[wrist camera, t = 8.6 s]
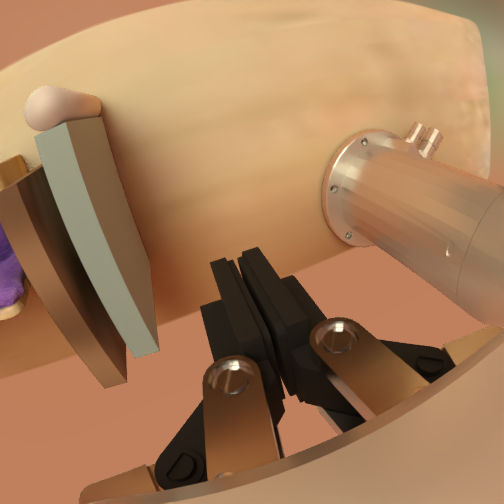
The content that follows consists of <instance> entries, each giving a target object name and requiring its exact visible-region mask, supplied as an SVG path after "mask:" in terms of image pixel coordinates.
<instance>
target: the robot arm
mask: <svg viewBox="0 0 504 504" xmlns="http://www.w3.org/2000/svg"><path fill="white" fill-rule="evenodd" d="M425 130H426V129H425V127H424V126H423V125H422V124H420V123H418V122H415V123H414V124H413V126H412V128H411V130H410V131H409V134H408V136H407V138H403V139H401V138H400V137H399V136H397V135H395V134H393V133H391V132H388V131H384V130H377V129H371V130H365V131H362V132H360V133H357V134H355V135H353V136H352V137H351V138H349V139H348V140H346V141H345V142H344V143H343V144H342V145H341V147H340V148H339V149H338V150H337V151H336V153H335V154H334V156H333V157H332V159H331V161H330V163H329V165H328V168H327V170H326V173H325V177H324V180H323V185H322V195H321V197H322V209H323V213H324V217H325V219H326V222H327V224H328V226H329V228H330V229H331V230H332V231H333V233H334V234H335V235H336V236H338V237H339V238H340V239H341V240H343V241H344V242H346V243H348V244H349V245H352V246H356V247H369V246H374V245H377V246H378V247H379V248H381V249H382V250H384V251H385V252H387V253H388V254H389V255H391V256H392V257H394V258H395V259H397V260H398V261H399V262H401V263H402V264H403V265H405V266H406V267H408V268H409V269H411V270H412V271H413V272H414V273H416V274H417V275H418V276H420V277H421V278H422V279H424V280H425V281H426V282H428V283H429V284H431V285H432V286H433V287H434V288H436V289H437V290H438V291H440V292H441V293H442V294H444V295H445V296H446V297H448V298H449V299H450V300H451V301H453V302H454V303H455V304H456V305H458V306H459V307H460V308H462V309H463V310H464V311H466V312H467V313H468V314H469V315H470V316H472V317H474V318H475V319H476V320H478V321H480V322H482V323H484V324H487V325H490V326H489V327H486V328H484V329H481V330H479V331H476V332H474V333H472V334H469V335H467V336H464V337H462V338H459V339H457V340H454V341H451V342H449V343H446V344H443V347H442V349H439V348H435V347H430V346H422V345H414V344H407V343H399V342H392V341H385V340H378V339H377V338H376V337H374V336H373V335H372V334H371V333H369V332H368V331H367V330H366V329H365V328H364V327H362V326H361V325H360V324H359V323H357V322H356V321H353V320H351V319H348V318H344V317H335V318H329V319H327V318H326V317H325V315H324V314H323V313H322V311H321V310H320V309H319V307H318V306H317V305H316V304H315V302H314V301H313V300H312V299H311V297H310V296H309V295H308V293H307V292H306V291H305V289H304V288H303V287H302V285H301V284H300V283H299V282H298V280H297V279H296V278H295V277H294V276H293V275H291V276H288V277H285V278H282V279H280V278H279V276H278V275H277V273H276V272H275V271H274V269H273V268H272V266H271V265H270V263H269V262H268V260H267V259H266V258H265V256H264V255H263V253H262V252H261V250H260V249H259V248H258V247H256V248H253V249H249V250H246V251H243V252H242V257H239V258H237V259H238V263H239V267H240V271H241V275H242V277H241V275H240V273H239V271H238V269H237V267H236V265H235V263H234V261H233V260H230V261H227V260H226V258H222V259H219V260H216V261H213V262H210V265H211V268H212V271H213V274H214V277H215V280H216V283H217V286H218V289H219V292H220V295H221V298H222V299H221V300H218V301H215V302H212V303H209V304H206V305H203V306H200V309H201V313H202V317H203V321H204V325H205V329H206V333H207V336H208V340H209V344H210V348H211V351H212V355H213V359H214V363H213V364H212V365H211V366H210V367H209V368H208V369H207V370H206V372H205V374H204V376H203V382H202V385H203V386H202V387H203V400H202V401H201V403H200V404H199V405H198V407H197V408H196V409H195V411H194V412H193V413H192V415H191V416H190V417H189V419H188V420H187V421H186V423H185V424H184V425H183V426H182V428H181V429H180V431H179V432H178V433H177V434H176V436H175V437H174V438H173V439H172V441H171V442H170V443H169V445H168V446H167V447H166V449H165V450H164V451H163V452H162V453H161V455H160V456H159V458H158V460H157V461H156V463H155V464H152V465H150V466H147V465H146V464H144V465H141V466H139V467H136V468H134V469H131V470H129V471H126V472H123V473H121V474H118V475H115V476H113V477H110V478H107V479H104V480H101V481H99V482H96V483H92V484H90V485H88V486H86V487H85V488H84V489H83V490H82V492H81V493H80V497H79V504H504V329H503V328H501V327H502V326H504V187H503V186H500V185H498V184H496V183H493V182H491V181H489V180H486V179H484V178H481V177H478V176H476V175H473V174H471V173H468V172H465V171H463V170H460V169H457V168H454V167H452V166H449V165H446V164H443V163H440V162H437V161H434V160H432V159H431V157H432V155H433V154H434V152H435V151H436V150H437V148H438V146H439V145H440V143H441V141H442V139H443V136H442V134H441V133H440V132H439V131H438V130H436V129H434V128H428V130H427V132H426V133H425V135H424V137H423V139H422V140H421V141H422V142H421V144H420V146H419V148H417V146H416V145H417V143H418V141H419V140H420V139H421V137H422V135H423V134H424V132H425ZM242 278H243V279H242ZM280 377H281V378H280ZM281 379H282V381H283V383H284V385H285V387H286V389H287V391H288V393H289V395H290V396H293V395H295V394H296V395H297V397H298V399H299V401H300V402H303V401H305V403H307V404H312V405H316V406H317V409H318V410H319V412H320V414H321V415H322V416H323V417H324V418H325V420H326V421H327V422H328V423H329V425H330V426H331V427H332V428H333V429H334V430H335V432H336V433H337V434H338V436H336V437H334V438H332V439H330V440H327V441H325V442H323V443H321V444H318V445H316V446H314V447H311V448H309V449H306V450H304V451H301V452H299V453H296V454H294V455H291V456H288V457H285V454H284V451H283V446H282V442H281V437H280V433H279V429H278V423H279V421H280V420H281V418H282V416H283V414H284V412H285V409H284V405H283V401H282V400H283V399H285V394H284V390H283V386H282V382H281Z"/></svg>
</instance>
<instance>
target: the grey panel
mask: <svg viewBox="0 0 504 504" xmlns="http://www.w3.org/2000/svg"><path fill="white" fill-rule="evenodd" d="M101 108H102V105H101V102H100V100H99V99H98V98H97V97H96V96H93V95H89V94H85V93H81V92H77V91H73V90H68V89H64V88H60V87H55V86H50V85H46V86H42V87H39V88H38V89H36V90H35V91H34V92H32V94H31V95H30V96H29V98H28V99H27V101H26V104H25V109H24V116H25V120H26V122H27V124H28V125H29V126H30V127H31V128H32V129H34V130H36V131H45V132H43V133H41V134H39V135H37V136H35V137H34V138H35V141H36V145H37V148H38V152H39V155H40V158H41V161H42V164H43V167H44V170H45V173H46V176H47V179H48V182H49V185H50V188H51V190H52V193H53V196H54V198H55V201H56V204H57V206H58V209H59V211H60V214H61V216H62V219H63V221H64V224H65V226H66V229H67V231H68V233H69V236H70V238H71V240H72V242H73V245H74V247H75V249H76V251H77V253H78V256H79V258H80V260H81V262H82V264H83V266H84V268H85V270H86V272H87V274H88V276H89V278H90V280H91V282H92V284H93V286H94V288H95V290H96V292H97V294H98V296H99V298H100V300H101V301H102V303H103V305H104V307H105V309H106V311H107V312H108V314H109V316H110V318H111V319H112V321H113V323H114V325H115V326H116V328H117V330H118V332H119V333H120V335H121V337H122V338H123V340H124V342H125V343H126V345H127V346H128V348H129V350H130V351H131V353H132V354H133V356H134V358H138V357H141V356H145V355H148V354H151V353H155V352H158V351H160V349H159V342H158V334H157V326H156V318H155V309H154V299H153V289H152V278H151V265H150V261H149V258H148V256H147V253H146V251H145V248H144V245H143V243H142V240H141V237H140V235H139V232H138V229H137V227H136V224H135V221H134V218H133V216H132V213H131V210H130V207H129V204H128V201H127V198H126V195H125V192H124V189H123V186H122V183H121V180H120V177H119V174H118V171H117V168H116V164H115V161H114V158H113V154H112V151H111V148H110V144H109V141H108V137H107V134H106V130H105V126H104V123H103V119H102V116H101V117H97V116H98V115H99V114H100V112H101ZM46 130H47V131H46Z"/></svg>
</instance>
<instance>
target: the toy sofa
mask: <svg viewBox="0 0 504 504" xmlns="http://www.w3.org/2000/svg"><path fill="white" fill-rule="evenodd" d="M27 173H28V171H27V168H26V166H25V163H24V161H23V158H22V156H21V155H17V156H14V157H12V158H10V159H8V160H6V161H4V162H2V163H0V191H1V190H3V189H4V188H5V187H7V186H8V185H10V184H11V183H13V182H14V181H16V180H17V179H19V178H21V177H22V176H24V175H25V174H27ZM30 287H31V282H30V281H29V279H28V277H27V275H26V273H25V272H24V270H23V268H22V266H21V264H20V262H19V260H18V258H17V256H16V254H15V252H14V250H13V248H12V246H11V244H10V242H9V240H8V238H7V236H6V234H5V232H4V229H3V227H2V225H1V223H0V320H6V319H9V318H12V317H14V316H16V315H18V314H19V313H20V312H21V311H22V309H23V308H24V306H25V303H26V299H27V295H28V291H29V288H30Z"/></svg>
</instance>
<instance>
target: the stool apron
mask: <svg viewBox="0 0 504 504" xmlns="http://www.w3.org/2000/svg"><path fill="white" fill-rule="evenodd" d="M0 223H1V225H2V227H3V229H4V232H5V234H6V236H7V238H8V240H9V242H10V244H11V246H12V248H13V250H14V252H15V254H16V256H17V258H18V260H19V262H20V264H21V266H22V268H23V270H24V272H25V273H26V275H27V277H28V279H29V281H30V282H31V284H32V286H33V288H34V289H35V291H36V293H37V294H38V296H39V298H40V299H41V301H42V303H43V304H44V306H45V308H46V309H47V311H48V312H49V314H50V315H51V317H52V318H53V320H54V322H55V323H56V325H57V326H58V328H59V329H60V330H61V332H62V333H63V335H64V336H65V338H66V339H67V341H68V342H69V343H70V345H71V346H72V347H73V349H74V350H75V352H76V353H77V354H78V356H79V357H80V358H81V360H82V361H83V362H84V363H85V365H86V366H87V367H88V368H89V370H90V371H91V372H92V374H93V375H94V376H95V377H96V379H97V380H98V381H99V382H100V383H101V385H102V386H103V387H104V388H109V387H112V386H116V385H119V384H123V383H126V382H127V370H126V369H127V368H126V343H125V342H124V340H123V338H122V337H121V335H120V333H119V332H118V330H117V328H116V326H115V325H114V323H113V321H112V319H111V318H110V316H109V314H108V312H107V311H106V309H105V307H104V305H103V303H102V301H101V300H100V298H99V296H98V294H97V292H96V290H95V288H94V286H93V284H92V282H91V280H90V278H89V276H88V274H87V272H86V270H85V268H84V266H83V264H82V262H81V260H80V258H79V256H78V253H77V251H76V249H75V247H74V245H73V242H72V240H71V238H70V236H69V233H68V231H67V229H66V226H65V224H64V221H63V219H62V216H61V214H60V211H59V209H58V206H57V204H56V201H55V198H54V196H53V193H52V190H51V188H50V185H49V182H48V179H47V176H46V173H45V170H44V167H43V164H41V165H40V166H38V167H36V168H35V169H33V170H32V171H30V172H28V173H27V174H25V175H24V176H22V177H21V178H19V179H17V180H16V181H14V182H13V183H11V184H10V185H8V186H7V187H5V188H4V189H3V190H1V191H0Z"/></svg>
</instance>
